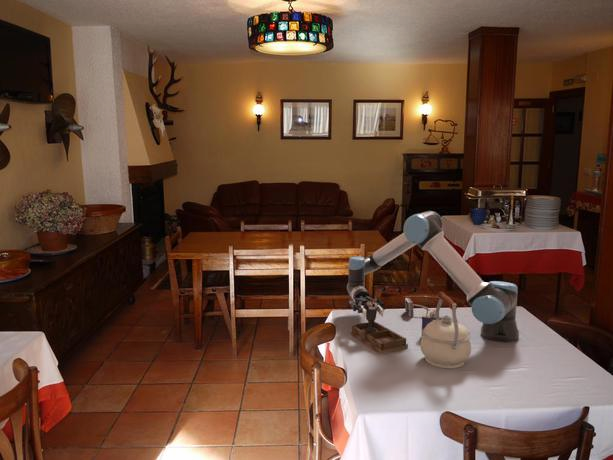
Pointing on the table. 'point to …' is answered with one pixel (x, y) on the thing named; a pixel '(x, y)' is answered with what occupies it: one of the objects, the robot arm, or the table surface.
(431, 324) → the kettle
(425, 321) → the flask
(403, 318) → the table surface
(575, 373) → the table surface
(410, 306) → the decorative sculpture
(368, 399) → the table surface
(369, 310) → the sundae
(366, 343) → the crate
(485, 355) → the table surface
